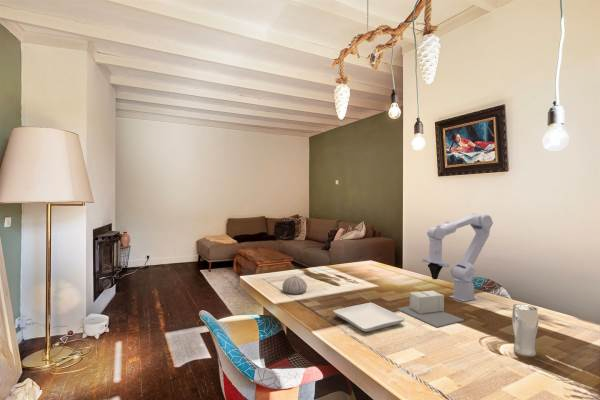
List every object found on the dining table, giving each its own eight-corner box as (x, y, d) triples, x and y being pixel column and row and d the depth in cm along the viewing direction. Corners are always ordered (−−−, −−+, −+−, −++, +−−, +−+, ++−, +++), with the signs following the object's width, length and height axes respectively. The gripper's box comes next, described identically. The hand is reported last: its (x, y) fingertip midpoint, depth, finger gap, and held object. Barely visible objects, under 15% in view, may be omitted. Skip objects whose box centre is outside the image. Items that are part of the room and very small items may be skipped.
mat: (422, 304, 151) (422, 303, 151) (464, 320, 131) (464, 319, 131) (396, 309, 144) (396, 308, 143) (436, 327, 124) (436, 326, 124)
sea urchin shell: (298, 286, 179) (298, 272, 179) (312, 293, 168) (312, 277, 167) (277, 290, 172) (277, 275, 172) (290, 297, 160) (290, 281, 160)
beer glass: (506, 347, 108) (507, 303, 108) (526, 346, 109) (526, 303, 108) (522, 358, 101) (523, 311, 101) (543, 357, 102) (544, 310, 101)
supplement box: (444, 294, 140) (419, 297, 137) (444, 311, 140) (419, 314, 137) (433, 289, 147) (409, 292, 144) (432, 305, 147) (409, 308, 144)
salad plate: (364, 337, 116) (364, 328, 116) (331, 317, 135) (331, 309, 135) (406, 326, 126) (406, 318, 126) (371, 309, 144) (371, 302, 144)
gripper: (418, 249, 162) (417, 276, 162) (442, 254, 149) (441, 283, 149) (428, 248, 165) (427, 275, 165) (452, 253, 152) (451, 282, 152)
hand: (434, 279), depth 157 cm, fingers closed
